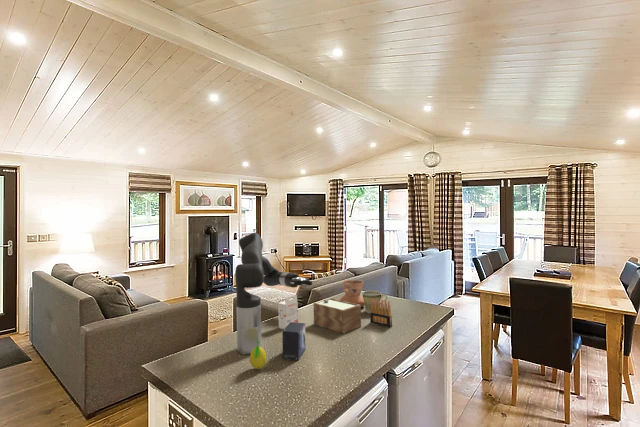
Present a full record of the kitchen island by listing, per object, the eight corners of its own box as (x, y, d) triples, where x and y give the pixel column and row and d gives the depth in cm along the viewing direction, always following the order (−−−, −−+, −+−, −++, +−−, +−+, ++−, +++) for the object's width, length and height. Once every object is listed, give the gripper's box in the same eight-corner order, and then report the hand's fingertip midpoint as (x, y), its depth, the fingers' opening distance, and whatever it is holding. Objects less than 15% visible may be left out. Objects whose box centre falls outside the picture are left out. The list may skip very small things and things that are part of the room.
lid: (358, 309, 154) (358, 303, 154) (343, 314, 147) (343, 308, 147) (329, 302, 167) (329, 297, 167) (314, 306, 160) (314, 301, 160)
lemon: (260, 363, 118) (259, 334, 118) (271, 367, 114) (270, 338, 114) (244, 370, 112) (244, 340, 113) (256, 375, 109) (255, 344, 109)
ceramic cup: (361, 313, 174) (360, 294, 174) (364, 308, 184) (364, 290, 184) (386, 315, 171) (386, 295, 171) (388, 310, 180) (387, 291, 180)
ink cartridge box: (290, 323, 161) (290, 292, 161) (298, 325, 158) (297, 294, 158) (278, 328, 154) (277, 296, 154) (286, 330, 151) (285, 297, 151)
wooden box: (361, 326, 154) (360, 304, 154) (343, 333, 146) (343, 310, 146) (331, 318, 168) (330, 298, 168) (313, 324, 159) (313, 303, 159)
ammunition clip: (392, 326, 154) (391, 300, 154) (390, 327, 152) (389, 301, 152) (372, 322, 160) (371, 297, 161) (370, 323, 159) (369, 297, 159)
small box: (299, 361, 119) (298, 331, 119) (281, 360, 120) (281, 330, 120) (306, 349, 129) (306, 322, 129) (290, 348, 130) (289, 321, 130)
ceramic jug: (357, 312, 177) (357, 285, 178) (334, 308, 185) (334, 282, 185) (371, 304, 193) (371, 280, 193) (348, 301, 200) (349, 277, 201)
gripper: (279, 274, 177) (301, 277, 164) (298, 271, 186) (320, 274, 174) (279, 288, 176) (301, 292, 164) (298, 284, 186) (320, 288, 173)
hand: (311, 283), depth 169 cm, fingers closed
